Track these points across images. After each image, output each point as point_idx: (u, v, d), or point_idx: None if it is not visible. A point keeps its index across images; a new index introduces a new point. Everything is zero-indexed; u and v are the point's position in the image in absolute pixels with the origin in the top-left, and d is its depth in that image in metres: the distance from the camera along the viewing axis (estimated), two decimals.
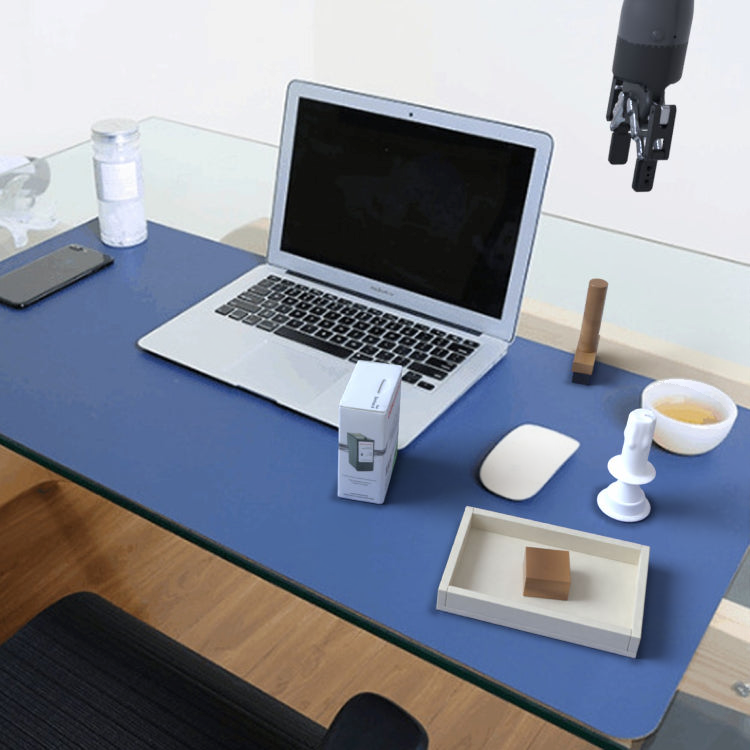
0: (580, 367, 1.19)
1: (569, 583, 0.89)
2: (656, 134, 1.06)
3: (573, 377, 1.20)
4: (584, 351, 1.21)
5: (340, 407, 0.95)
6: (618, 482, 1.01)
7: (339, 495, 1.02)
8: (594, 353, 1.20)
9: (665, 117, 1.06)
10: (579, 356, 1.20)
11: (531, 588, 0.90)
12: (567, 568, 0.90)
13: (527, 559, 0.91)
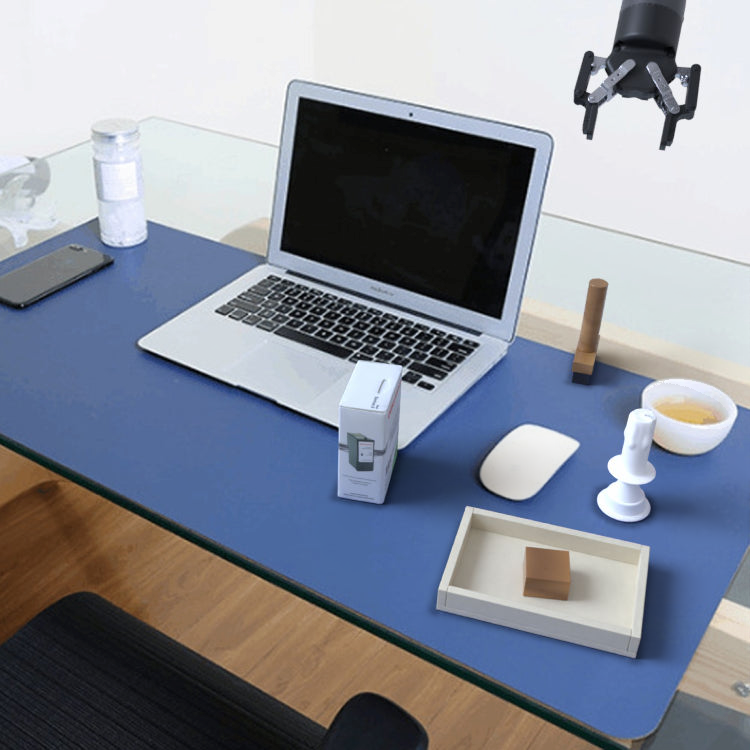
0: (580, 367, 1.19)
1: (569, 583, 0.89)
2: None
3: (573, 377, 1.20)
4: (584, 351, 1.21)
5: (340, 407, 0.95)
6: (618, 482, 1.01)
7: (339, 495, 1.02)
8: (594, 353, 1.20)
9: None
10: (579, 356, 1.20)
11: (531, 588, 0.90)
12: (567, 568, 0.90)
13: (527, 559, 0.91)
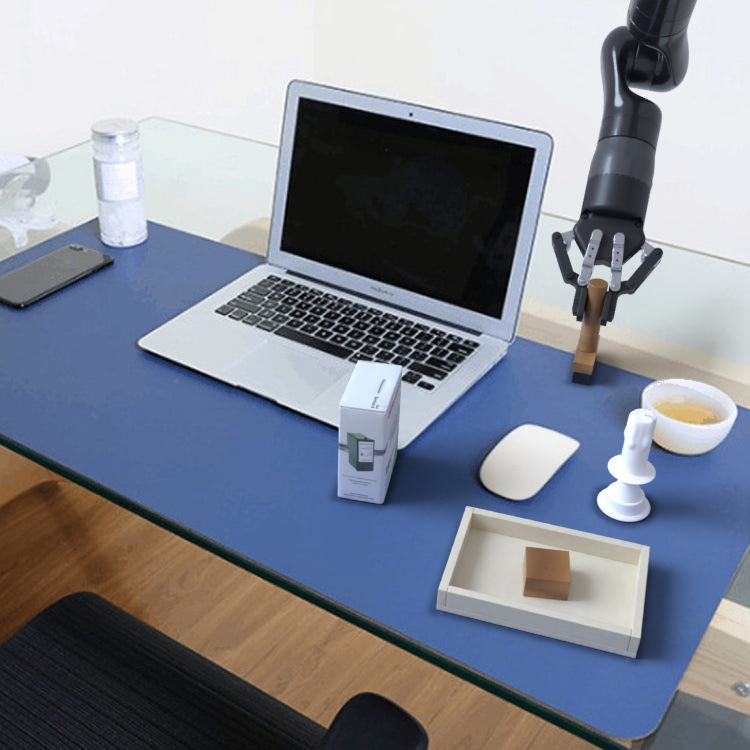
0: (580, 367, 1.19)
1: (569, 583, 0.89)
2: (557, 260, 1.20)
3: (573, 377, 1.20)
4: (584, 351, 1.21)
5: (340, 407, 0.95)
6: (618, 482, 1.01)
7: (339, 495, 1.02)
8: (594, 353, 1.20)
9: (553, 245, 1.19)
10: (579, 356, 1.20)
11: (531, 588, 0.90)
12: (567, 568, 0.90)
13: (527, 559, 0.91)
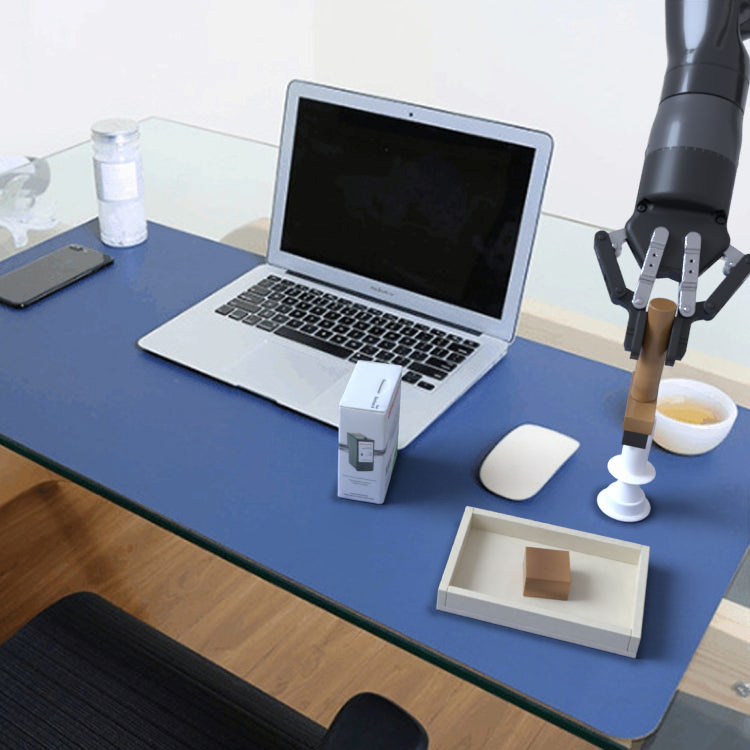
0: (635, 424, 0.83)
1: (569, 583, 0.89)
2: (602, 272, 0.84)
3: (624, 438, 0.84)
4: (640, 401, 0.85)
5: (340, 407, 0.95)
6: (618, 482, 1.01)
7: (339, 495, 1.02)
8: (654, 403, 0.85)
9: (596, 250, 0.84)
10: (633, 408, 0.84)
11: (531, 588, 0.90)
12: (567, 568, 0.90)
13: (527, 559, 0.91)
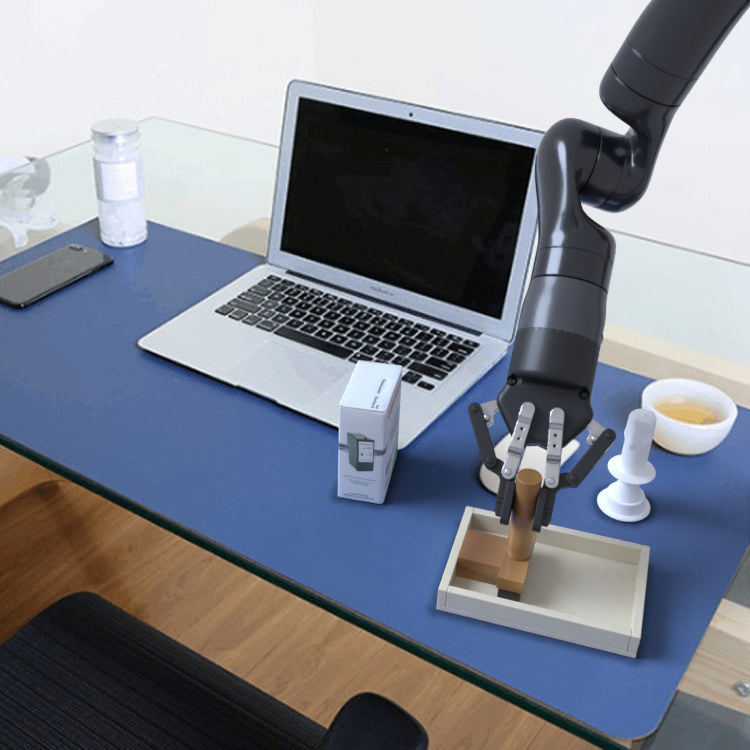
0: (507, 584, 0.89)
1: (499, 568, 0.90)
2: None
3: (498, 595, 0.90)
4: (514, 559, 0.90)
5: (340, 407, 0.95)
6: (618, 482, 1.01)
7: (339, 495, 1.02)
8: (527, 562, 0.90)
9: None
10: (507, 567, 0.89)
11: (463, 569, 0.92)
12: (501, 554, 0.92)
13: (464, 540, 0.93)
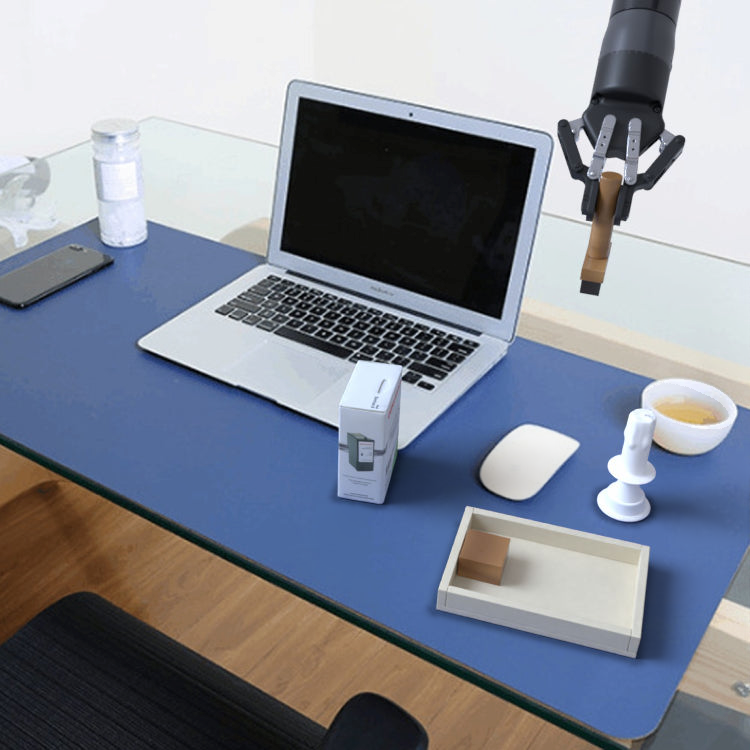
0: (590, 274, 1.04)
1: (500, 568, 0.90)
2: (564, 153, 1.05)
3: (581, 287, 1.05)
4: (594, 258, 1.06)
5: (340, 407, 0.95)
6: (618, 482, 1.01)
7: (339, 495, 1.02)
8: (605, 260, 1.06)
9: (559, 135, 1.05)
10: (589, 262, 1.05)
11: (464, 568, 0.92)
12: (503, 554, 0.92)
13: (466, 540, 0.93)
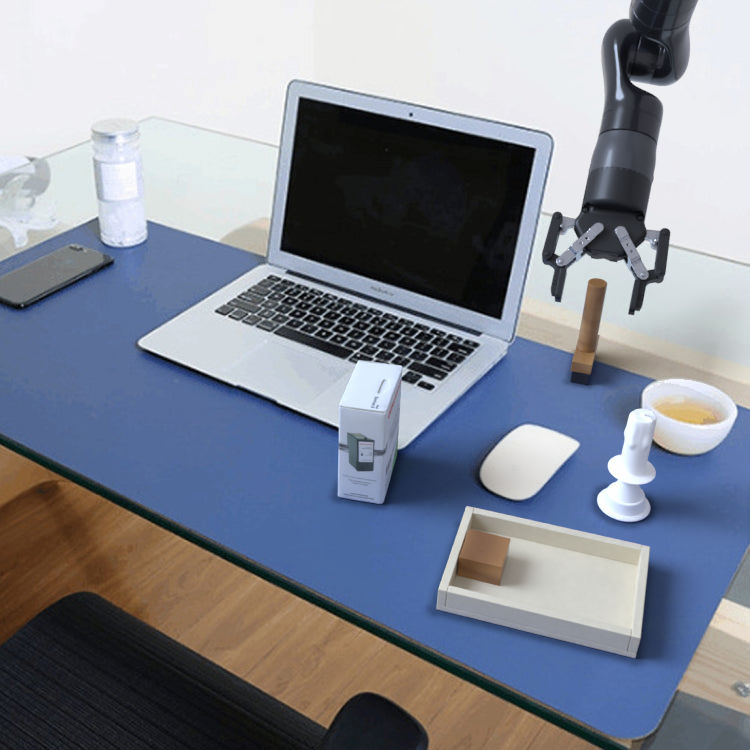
0: (579, 367, 1.19)
1: (500, 568, 0.90)
2: None
3: (572, 377, 1.20)
4: (583, 351, 1.21)
5: (340, 407, 0.95)
6: (618, 482, 1.01)
7: (339, 495, 1.02)
8: (593, 353, 1.20)
9: None
10: (578, 356, 1.20)
11: (464, 568, 0.92)
12: (503, 554, 0.92)
13: (466, 540, 0.93)
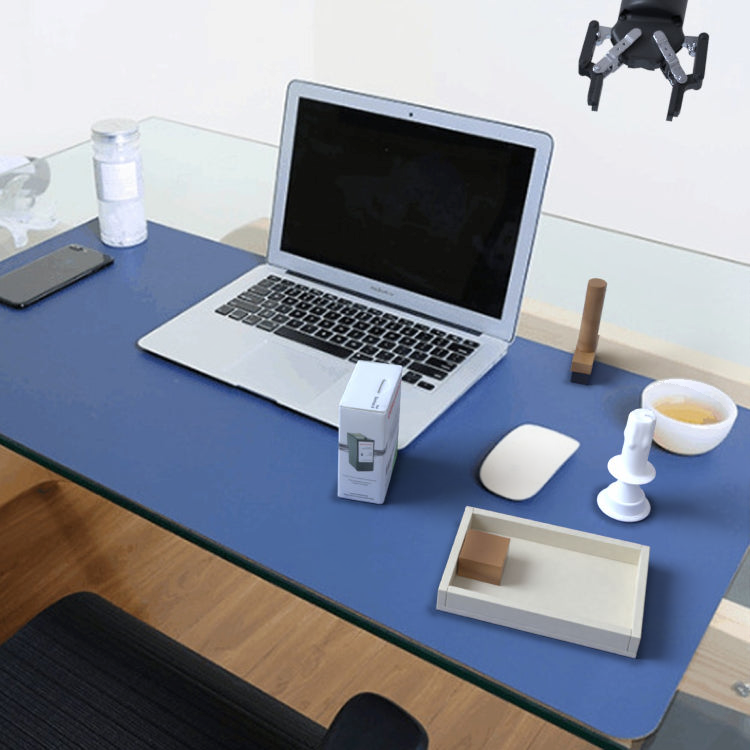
0: (579, 367, 1.19)
1: (500, 568, 0.90)
2: None
3: (572, 377, 1.20)
4: (583, 351, 1.21)
5: (340, 407, 0.95)
6: (618, 482, 1.01)
7: (339, 495, 1.02)
8: (593, 353, 1.20)
9: None
10: (578, 356, 1.20)
11: (464, 568, 0.92)
12: (503, 554, 0.92)
13: (466, 540, 0.93)
